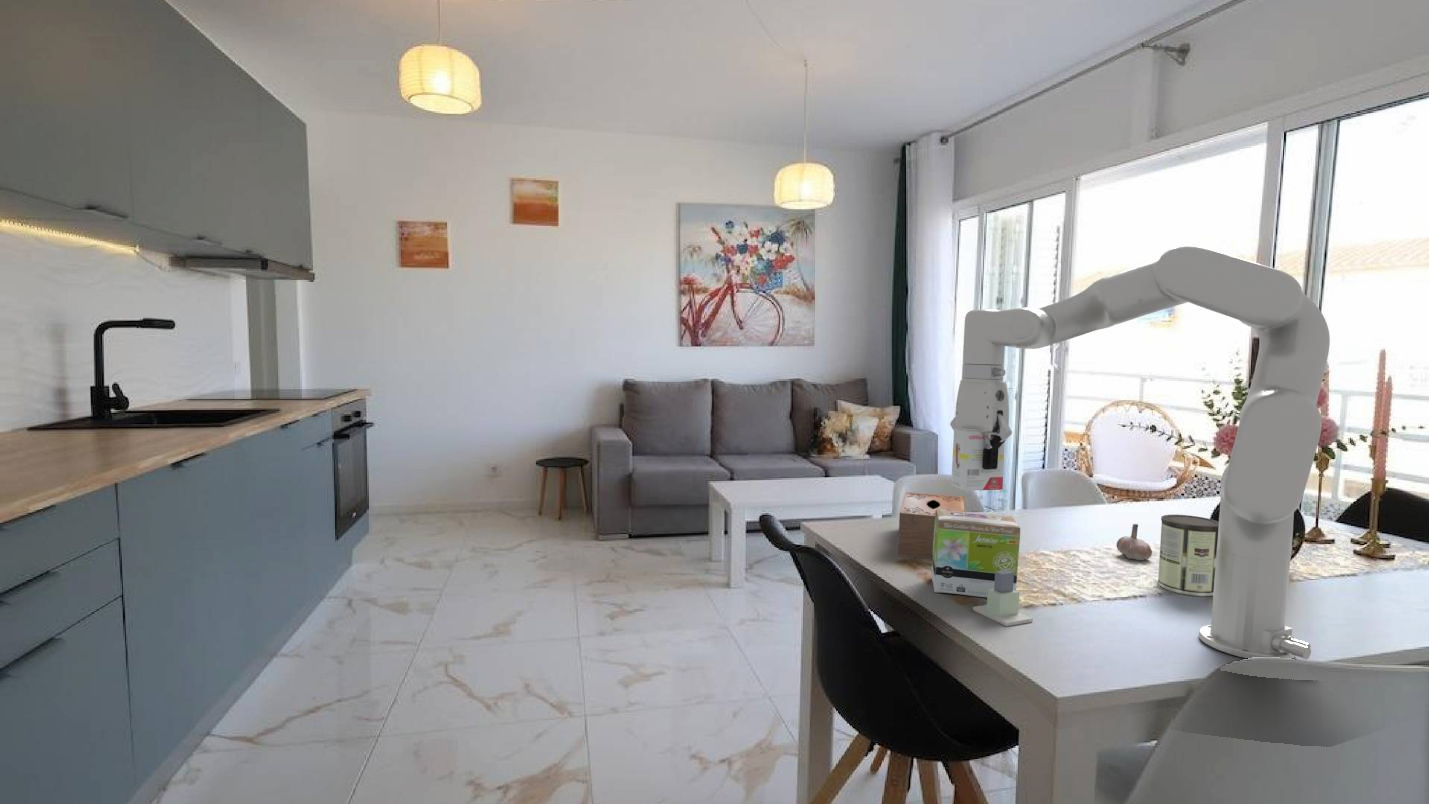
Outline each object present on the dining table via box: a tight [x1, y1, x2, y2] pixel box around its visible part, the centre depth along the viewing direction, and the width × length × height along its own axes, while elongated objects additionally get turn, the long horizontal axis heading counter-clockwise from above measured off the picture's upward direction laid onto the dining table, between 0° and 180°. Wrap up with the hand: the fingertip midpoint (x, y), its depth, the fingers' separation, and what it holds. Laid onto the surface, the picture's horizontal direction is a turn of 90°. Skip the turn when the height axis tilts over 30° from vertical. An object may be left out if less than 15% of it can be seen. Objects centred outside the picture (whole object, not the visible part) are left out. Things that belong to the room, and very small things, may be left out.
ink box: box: [950, 428, 1006, 492], centre depth 139 cm, size 9×5×12 cm, turn 99°
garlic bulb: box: [1116, 523, 1153, 561], centre depth 166 cm, size 8×7×8 cm
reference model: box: [972, 570, 1034, 627], centre depth 127 cm, size 8×6×8 cm
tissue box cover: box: [897, 491, 966, 559], centre depth 174 cm, size 26×14×10 cm, turn 162°
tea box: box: [930, 510, 1021, 598], centre depth 141 cm, size 15×10×15 cm, turn 76°
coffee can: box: [1157, 514, 1219, 597], centre depth 145 cm, size 10×10×14 cm
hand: (977, 465), depth 139 cm, fingers closed on ink box, 5 cm apart
